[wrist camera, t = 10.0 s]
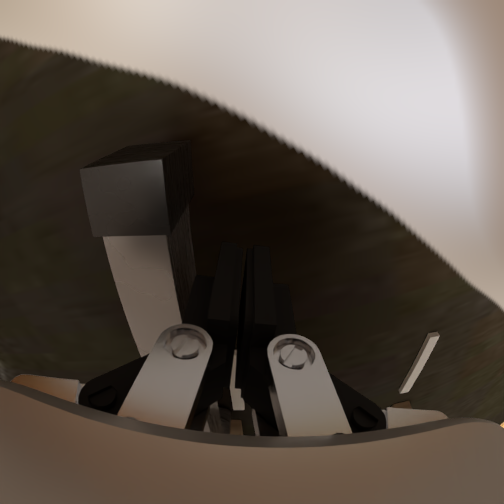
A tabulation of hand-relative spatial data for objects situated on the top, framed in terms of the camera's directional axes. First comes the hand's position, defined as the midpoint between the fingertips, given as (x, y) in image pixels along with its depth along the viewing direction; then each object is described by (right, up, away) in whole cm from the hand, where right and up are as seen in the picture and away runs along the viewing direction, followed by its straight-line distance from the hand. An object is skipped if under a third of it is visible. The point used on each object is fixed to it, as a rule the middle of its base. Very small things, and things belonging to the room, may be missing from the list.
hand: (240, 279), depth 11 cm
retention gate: (-3, -4, +8) cm, 9 cm away
